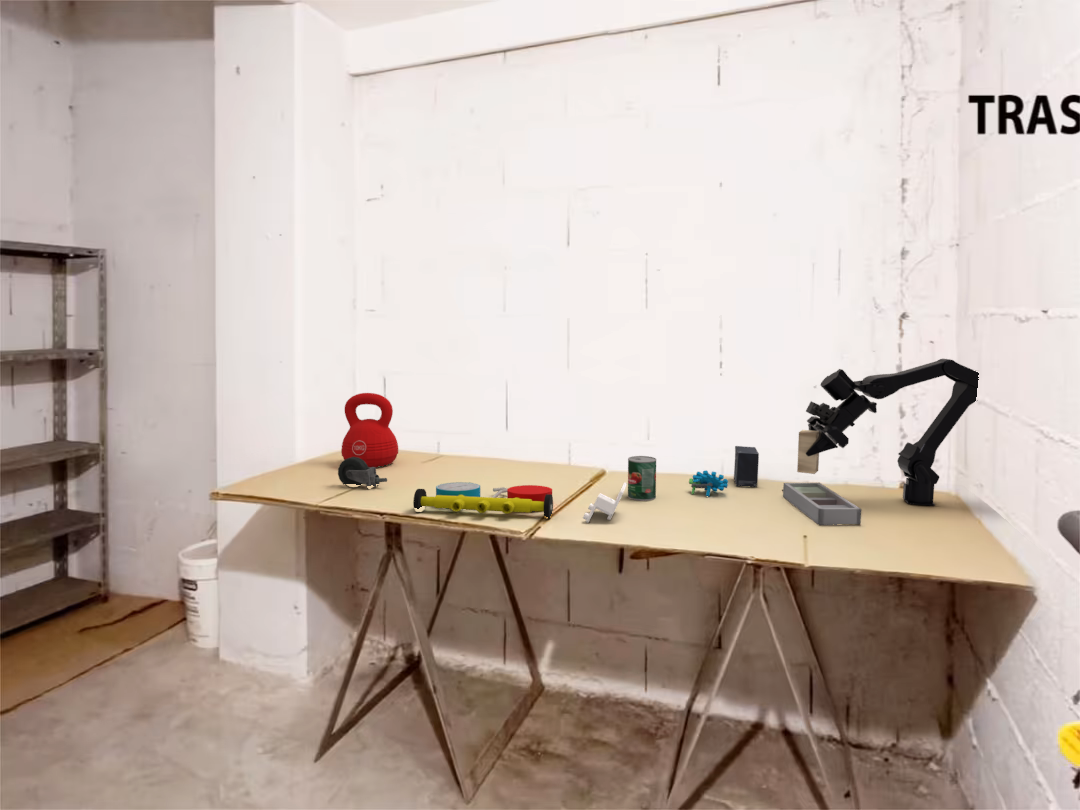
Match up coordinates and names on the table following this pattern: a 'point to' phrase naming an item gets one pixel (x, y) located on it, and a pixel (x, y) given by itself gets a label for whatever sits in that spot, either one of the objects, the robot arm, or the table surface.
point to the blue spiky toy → (708, 482)
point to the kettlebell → (370, 432)
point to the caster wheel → (358, 472)
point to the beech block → (805, 442)
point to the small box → (746, 466)
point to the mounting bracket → (604, 505)
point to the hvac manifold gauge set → (488, 498)
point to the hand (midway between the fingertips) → (803, 452)
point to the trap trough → (821, 504)
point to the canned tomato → (642, 478)
